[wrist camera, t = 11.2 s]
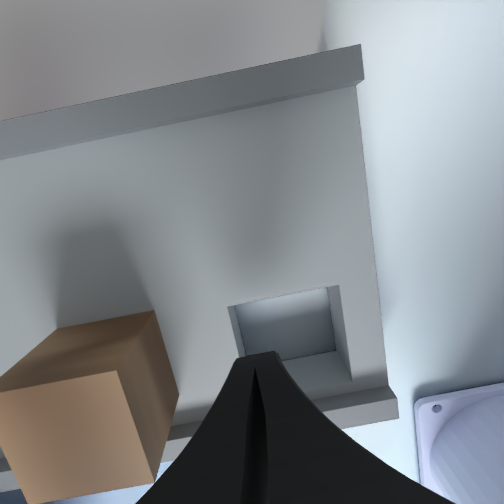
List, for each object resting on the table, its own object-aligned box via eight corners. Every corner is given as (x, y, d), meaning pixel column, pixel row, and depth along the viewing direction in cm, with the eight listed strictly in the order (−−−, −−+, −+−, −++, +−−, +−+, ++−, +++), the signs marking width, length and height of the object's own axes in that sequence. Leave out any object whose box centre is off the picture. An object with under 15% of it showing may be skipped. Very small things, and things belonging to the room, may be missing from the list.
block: (154, 309, 13) (116, 370, 9) (179, 395, 14) (154, 482, 10) (56, 328, 13) (-23, 396, 9) (88, 412, 14) (28, 505, 10)
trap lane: (332, 74, 13) (376, 27, 9) (369, 370, 17) (413, 441, 12) (-249, 197, 14) (-476, 210, 9) (-98, 458, 17) (-212, 556, 13)
